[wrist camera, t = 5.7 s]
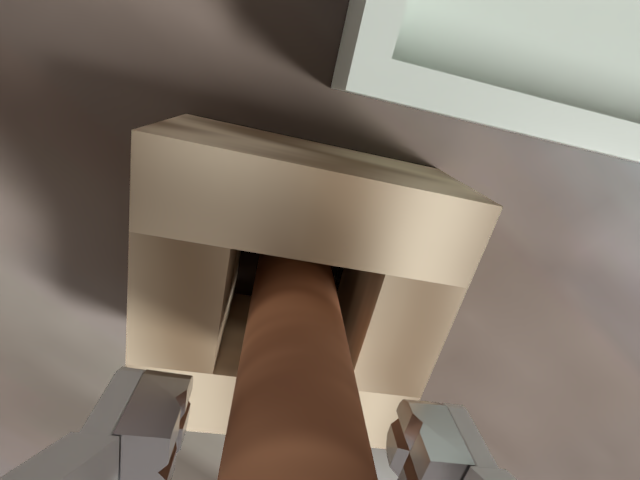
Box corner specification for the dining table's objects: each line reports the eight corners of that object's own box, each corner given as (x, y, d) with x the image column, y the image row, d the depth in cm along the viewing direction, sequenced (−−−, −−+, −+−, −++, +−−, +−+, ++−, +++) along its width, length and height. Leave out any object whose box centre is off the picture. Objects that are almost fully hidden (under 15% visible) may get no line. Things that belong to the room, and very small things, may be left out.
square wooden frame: (168, 333, 17) (124, 425, 12) (186, 113, 13) (131, 129, 9) (371, 359, 19) (397, 450, 14) (437, 168, 15) (503, 207, 10)
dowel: (254, 280, 16) (196, 599, 6) (265, 218, 15) (215, 485, 5) (319, 290, 17) (362, 603, 7) (335, 231, 16) (413, 499, 6)
